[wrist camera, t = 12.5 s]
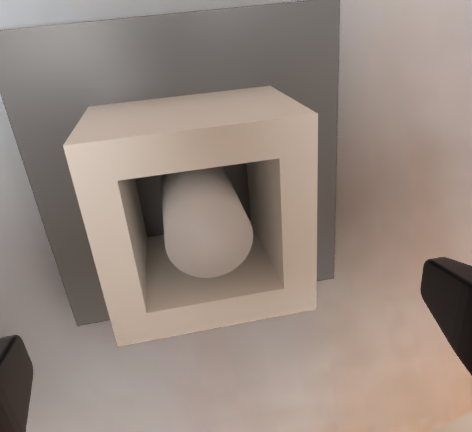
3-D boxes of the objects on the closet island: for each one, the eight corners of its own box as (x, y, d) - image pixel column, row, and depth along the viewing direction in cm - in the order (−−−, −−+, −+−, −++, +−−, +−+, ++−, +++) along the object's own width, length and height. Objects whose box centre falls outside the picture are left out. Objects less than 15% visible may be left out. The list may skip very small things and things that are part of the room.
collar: (125, 263, 18) (117, 346, 13) (88, 106, 15) (63, 145, 10) (276, 239, 19) (316, 309, 14) (270, 85, 16) (317, 113, 11)
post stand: (80, 311, 19) (54, 423, 14) (-10, 31, 14) (-105, 41, 9) (326, 267, 21) (386, 352, 16) (329, -2, 16) (421, -11, 10)
